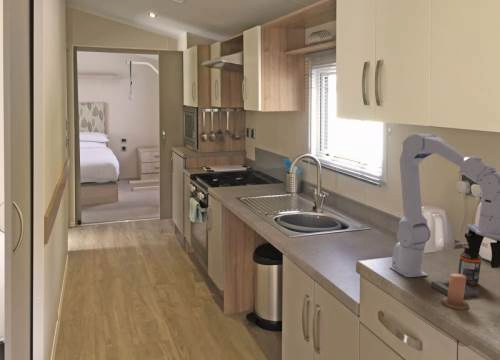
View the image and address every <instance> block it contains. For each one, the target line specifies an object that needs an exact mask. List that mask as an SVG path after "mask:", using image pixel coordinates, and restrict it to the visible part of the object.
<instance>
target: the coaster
mask: <svg viewBox="0 0 500 360" xmlns="http://www.w3.org/2000/svg"><path fill="white" fill-rule="evenodd" d="M447 297H448V296H446V297H442V298H441V299H440V303H441V304H442V306H444V307H447V308H449V309H453V310H460V311H461V310H463V311H464V310H467V309H469V303H468V302H467V301H465V300H463V305H452V304H450V303H448V302H447Z"/></svg>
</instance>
